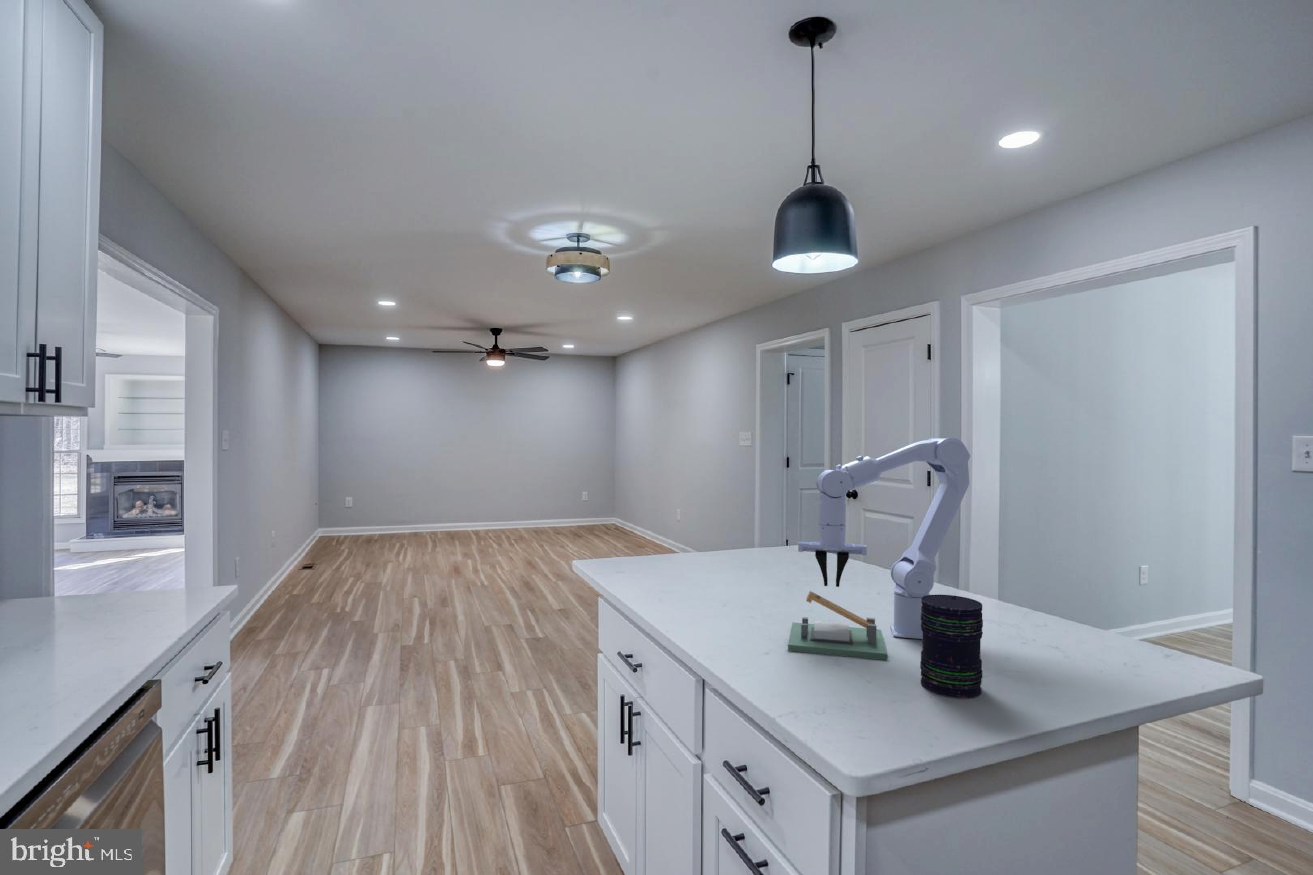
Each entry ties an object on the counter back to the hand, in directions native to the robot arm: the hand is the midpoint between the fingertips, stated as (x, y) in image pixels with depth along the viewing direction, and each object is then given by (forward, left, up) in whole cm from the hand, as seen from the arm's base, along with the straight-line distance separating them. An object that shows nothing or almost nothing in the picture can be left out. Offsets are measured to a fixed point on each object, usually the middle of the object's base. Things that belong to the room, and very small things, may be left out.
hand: (831, 585), depth 141 cm
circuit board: (-1, +7, -10) cm, 13 cm away
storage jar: (-20, +26, -11) cm, 34 cm away
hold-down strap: (-1, +7, -5) cm, 9 cm away
